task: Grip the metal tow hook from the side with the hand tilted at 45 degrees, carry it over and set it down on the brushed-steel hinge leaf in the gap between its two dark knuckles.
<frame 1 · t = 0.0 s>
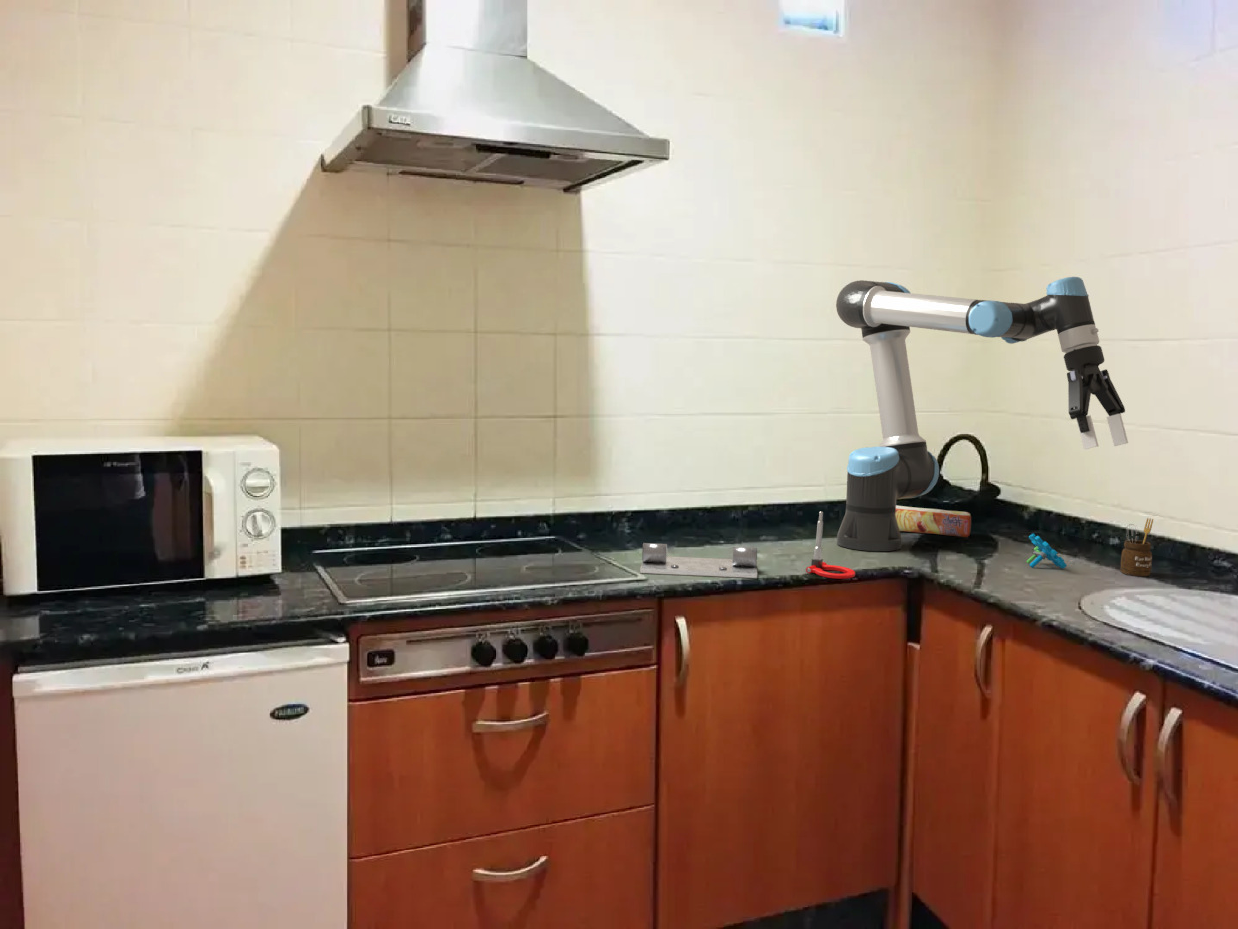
hand: (1106, 446, 215), 28 cm above the worktop, tool tilted 20°, fingers open, 13 cm apart
tow hook: (832, 575, 216), on the worktop
gear: (1045, 568, 227), on the worktop
utensil holder: (1135, 574, 222), on the worktop
hinge leaf: (699, 568, 218), on the worktop
snack package: (927, 534, 267), on the worktop
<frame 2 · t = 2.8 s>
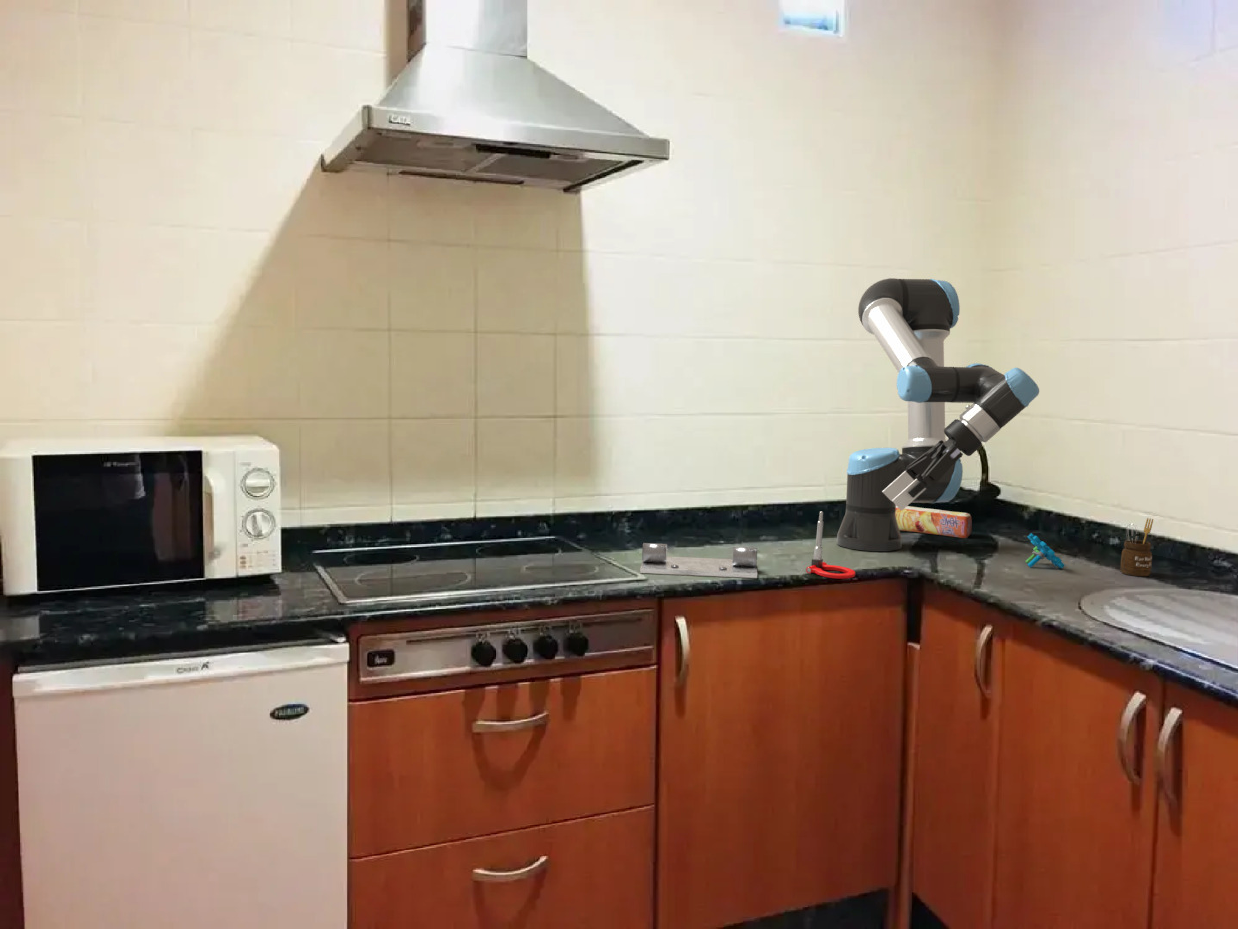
hand: (891, 501, 213), 16 cm above the worktop, tool tilted 45°, fingers open, 13 cm apart
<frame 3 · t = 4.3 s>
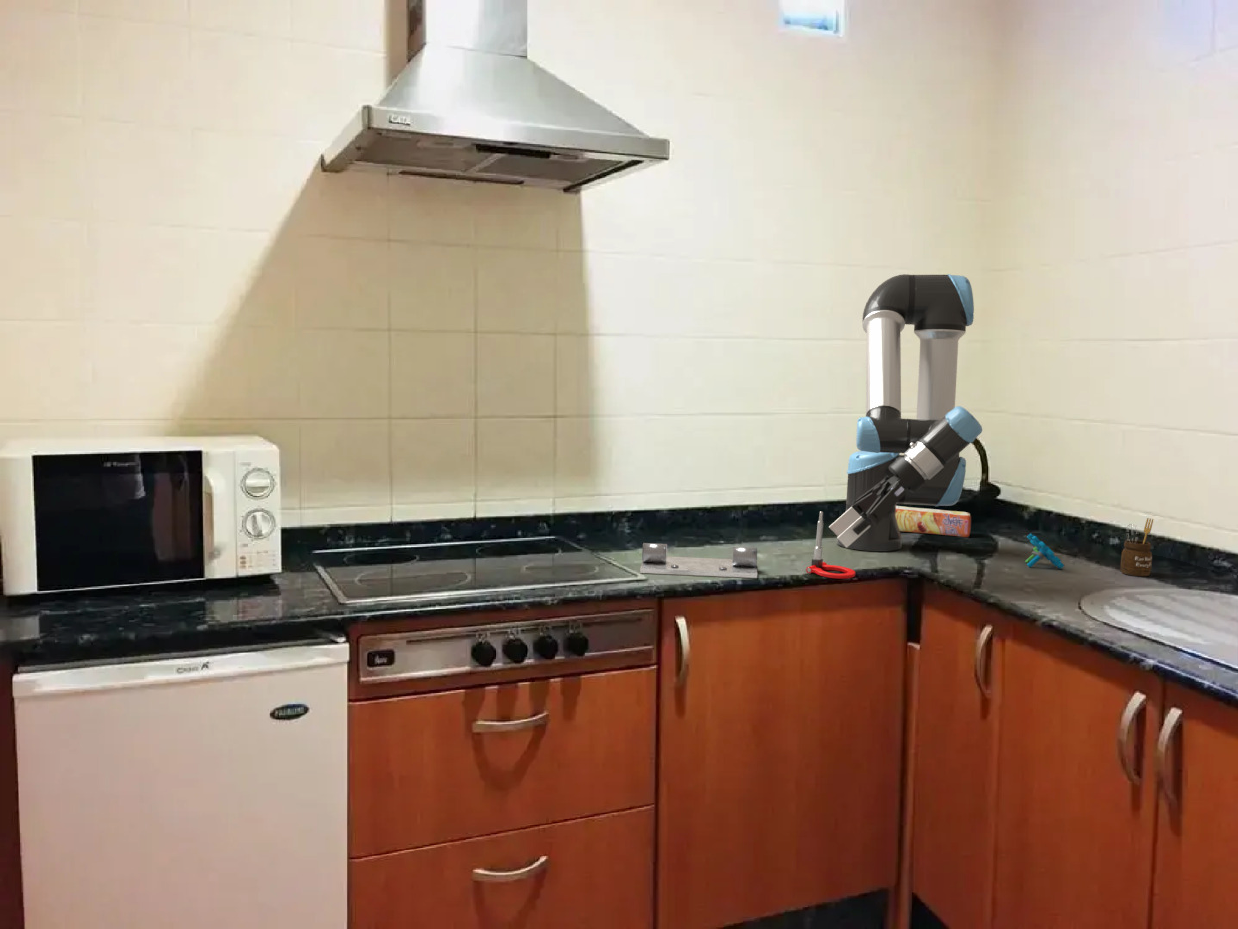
hand: (837, 537, 214), 8 cm above the worktop, tool tilted 45°, fingers open, 13 cm apart
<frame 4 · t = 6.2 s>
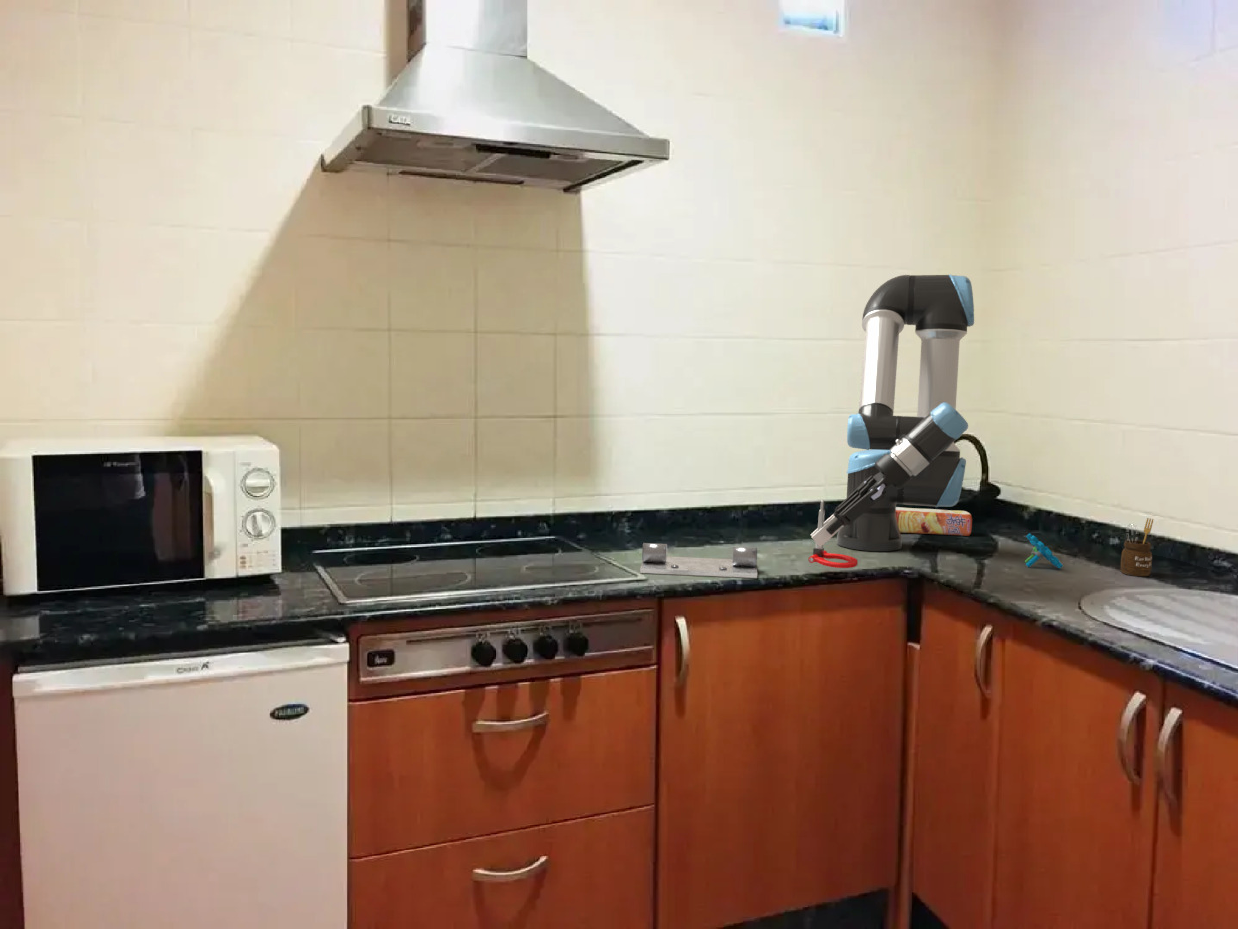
hand: (815, 540, 216), 7 cm above the worktop, tool tilted 45°, fingers closed on tow hook, 1 cm apart
tow hook: (834, 564, 215), point 2 cm above the worktop, touching gripper
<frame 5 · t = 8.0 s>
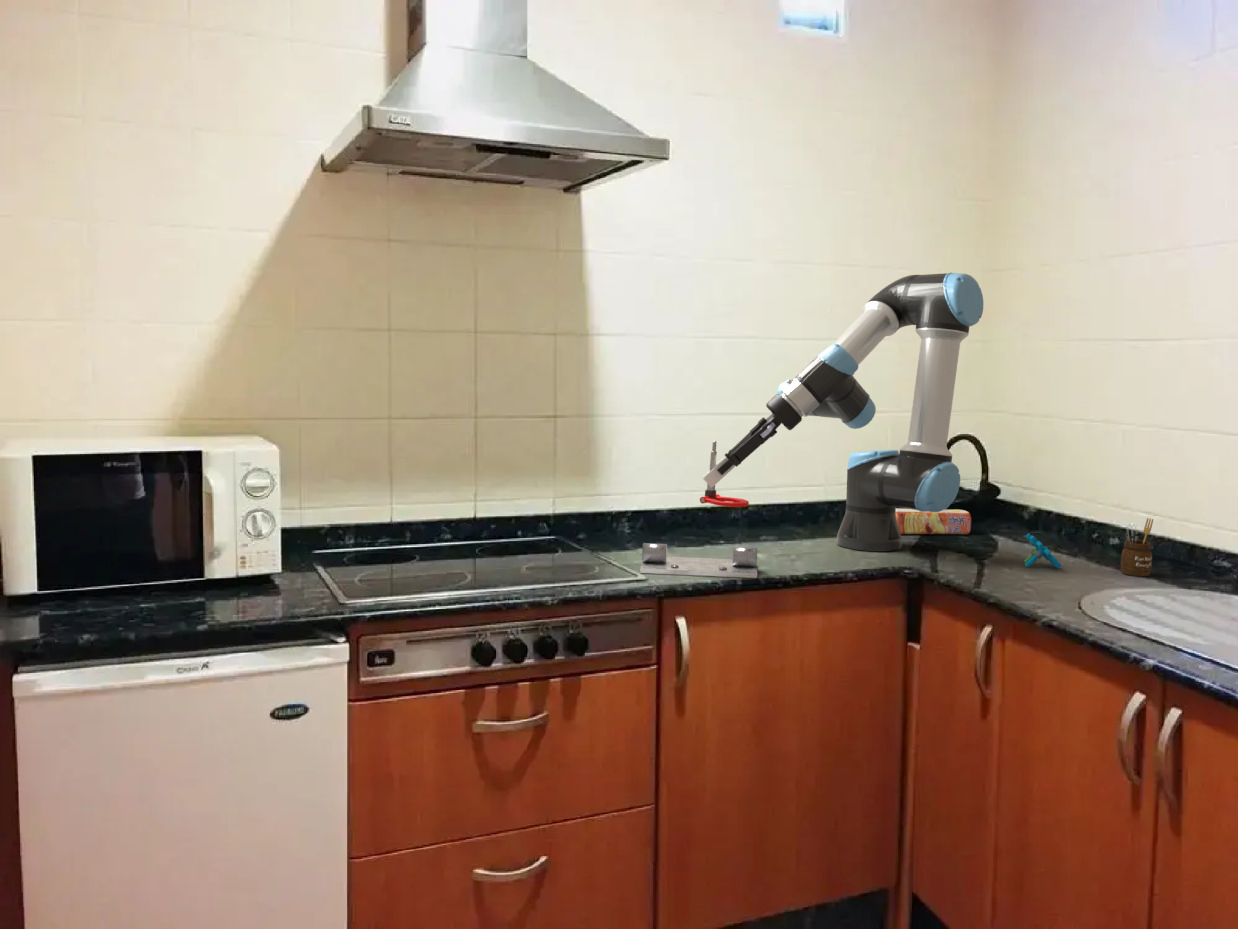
hand: (707, 482, 214), 19 cm above the worktop, tool tilted 45°, fingers closed on tow hook, 1 cm apart
tow hook: (726, 505, 213), point 14 cm above the worktop, touching gripper
when the fingers open (7 cm above the worktop, at t = 10.6 s): tow hook drops 1 cm, resting on hinge leaf.
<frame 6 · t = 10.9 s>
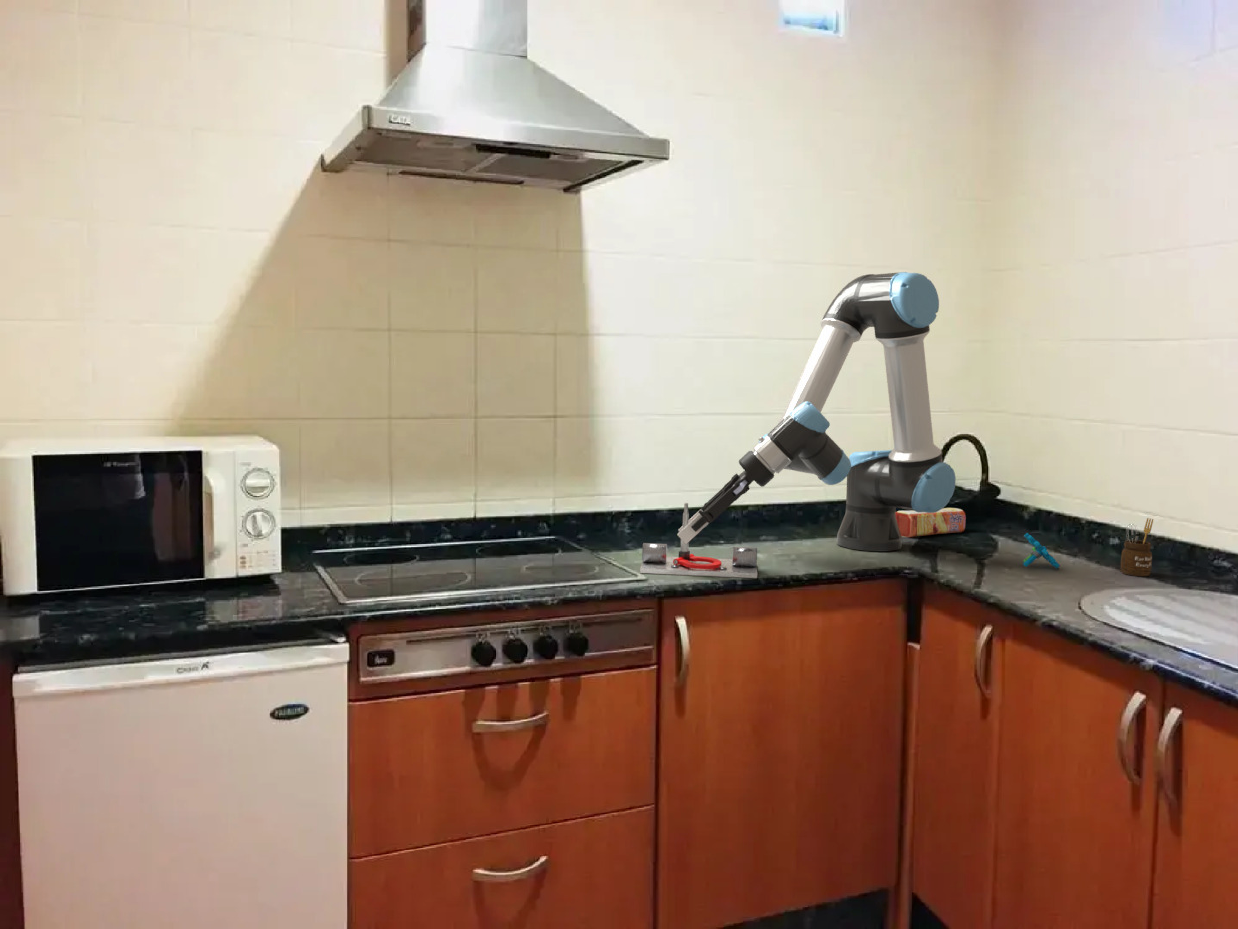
hand: (682, 536, 217), 7 cm above the worktop, tool tilted 45°, fingers open, 5 cm apart
tow hook: (699, 566, 216), point 1 cm above the worktop, touching hinge leaf
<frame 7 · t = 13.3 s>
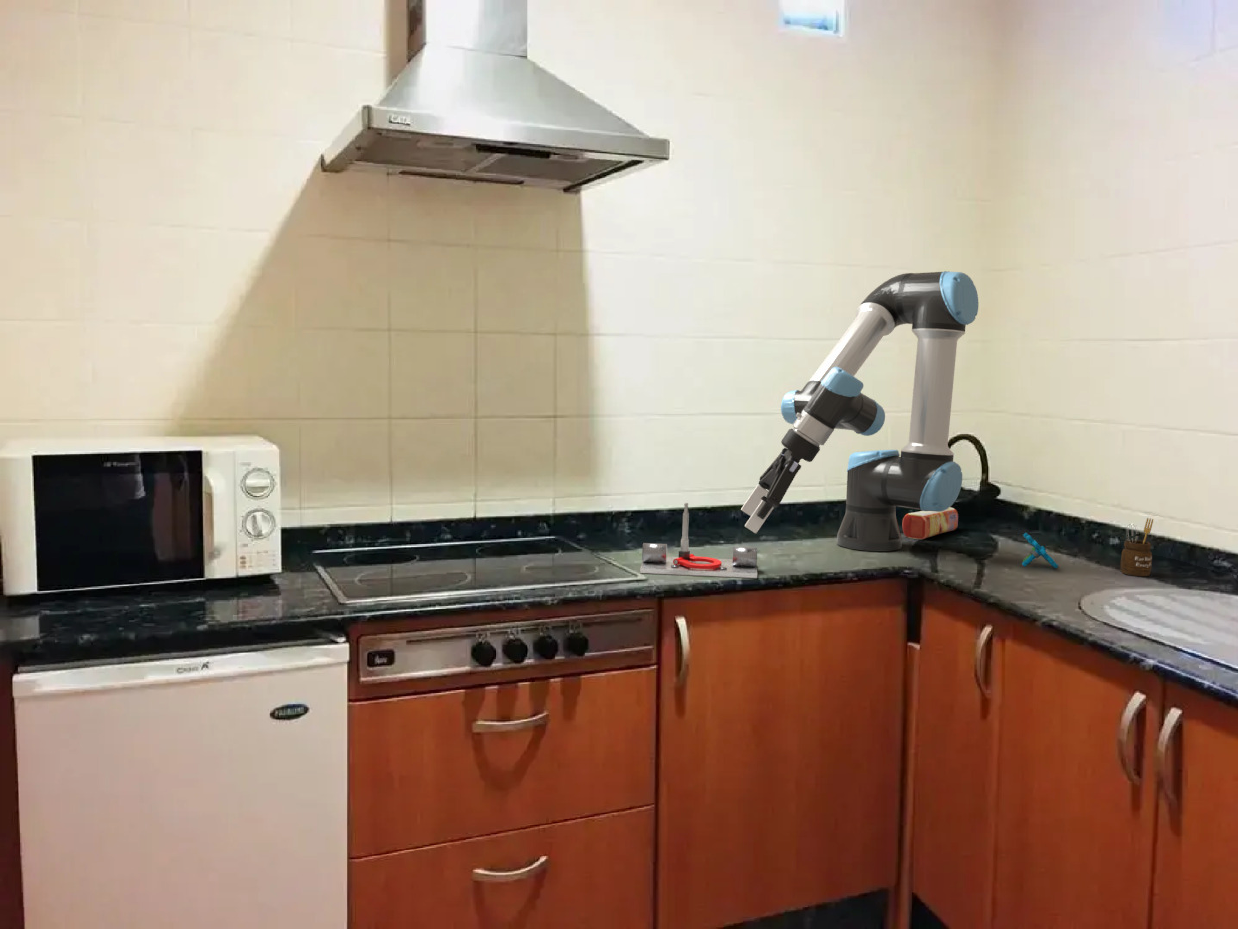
hand: (748, 521, 214), 11 cm above the worktop, tool tilted 30°, fingers open, 13 cm apart
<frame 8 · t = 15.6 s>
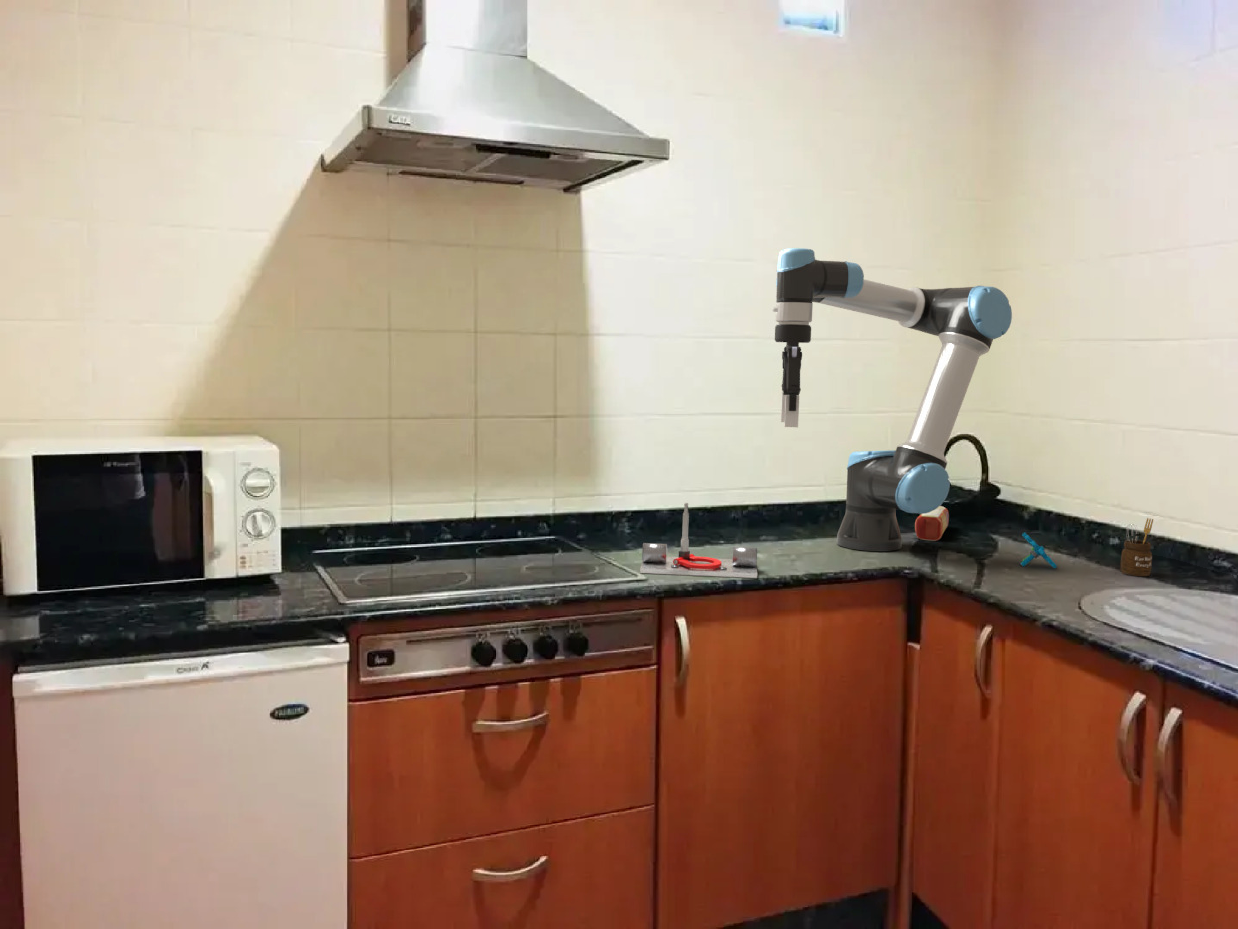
hand: (789, 424, 218), 31 cm above the worktop, tool pointing down, fingers open, 13 cm apart
at the end: tow hook inside the target area on the hinge leaf (1.8 cm from its centre), point 1.0 cm above the hinge leaf's base; tow hook tilted 2°; the gripper is holding nothing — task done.
